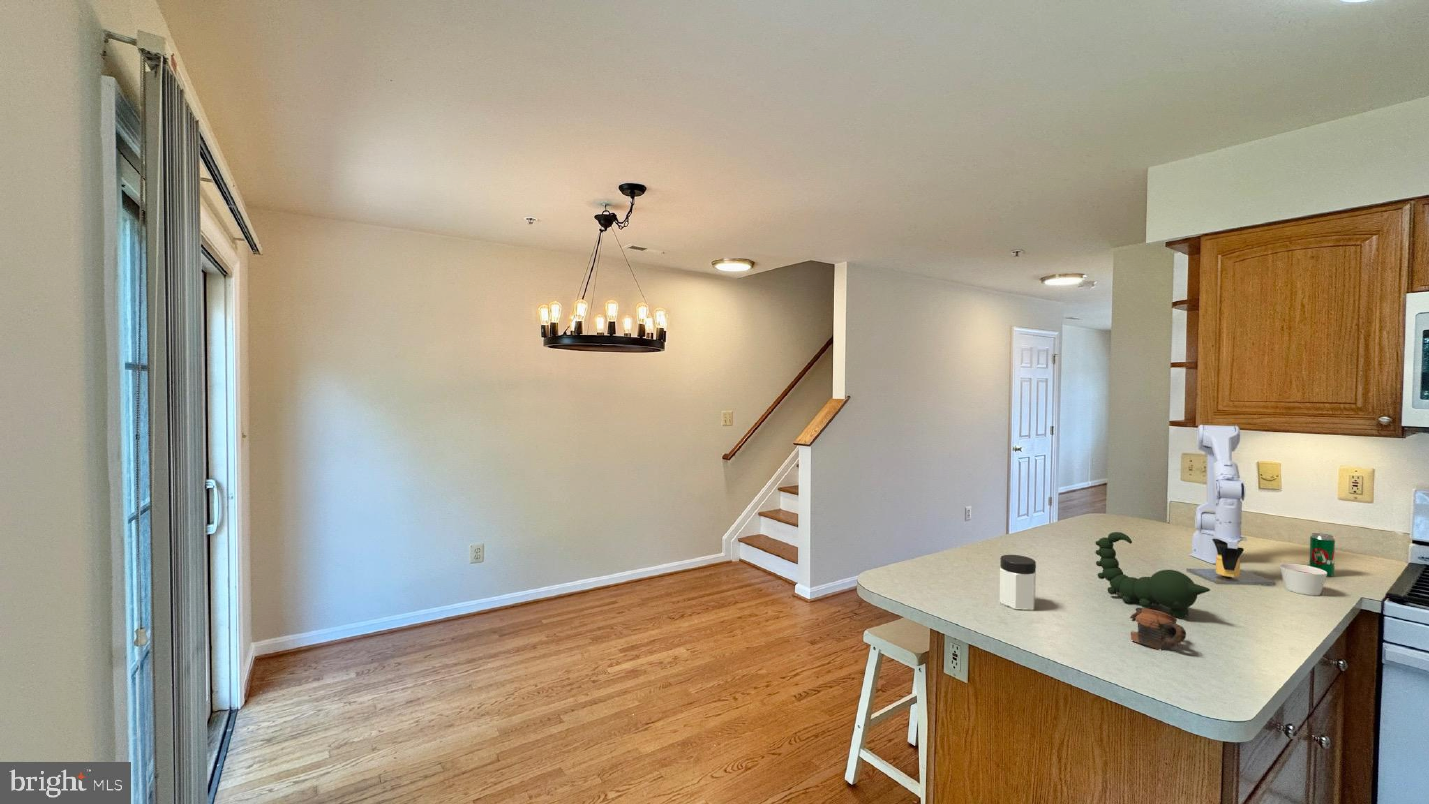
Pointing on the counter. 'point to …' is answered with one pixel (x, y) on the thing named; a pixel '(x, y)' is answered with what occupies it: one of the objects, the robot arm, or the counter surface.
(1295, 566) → the candle
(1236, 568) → the orange cap
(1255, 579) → the plate
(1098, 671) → the counter surface
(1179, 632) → the pottery mug
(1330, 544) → the soda can
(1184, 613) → the toy figurine
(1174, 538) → the counter surface
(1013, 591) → the jar
